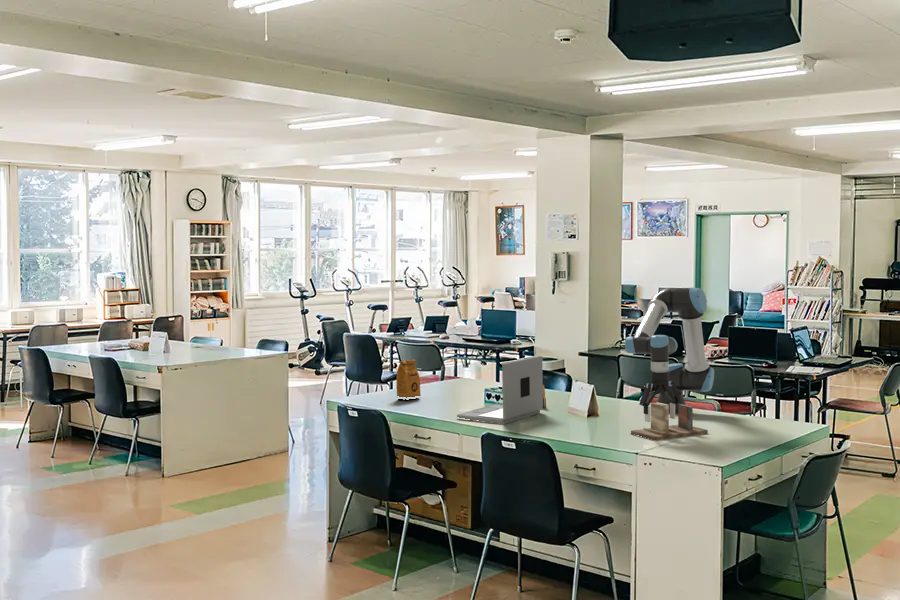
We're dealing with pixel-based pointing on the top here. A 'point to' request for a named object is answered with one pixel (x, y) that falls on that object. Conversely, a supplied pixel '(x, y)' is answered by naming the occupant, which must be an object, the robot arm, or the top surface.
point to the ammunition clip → (544, 398)
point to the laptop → (515, 393)
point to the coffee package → (408, 379)
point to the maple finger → (660, 417)
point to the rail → (674, 427)
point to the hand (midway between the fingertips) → (660, 420)
